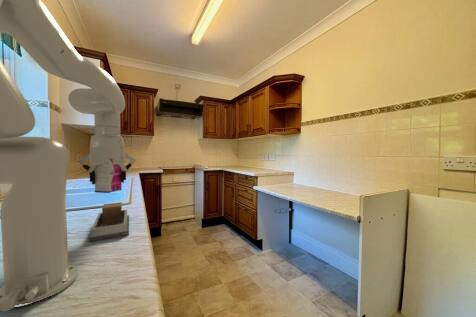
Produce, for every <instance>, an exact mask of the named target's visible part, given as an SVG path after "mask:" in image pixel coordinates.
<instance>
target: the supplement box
mask: <svg viewBox="0 0 476 317" xmlns="http://www.w3.org/2000/svg"><path fill="white" fill-rule="evenodd" d="M121 171H122V168H121V167H120V166H119V165H113V159H105V161H104V165H99V166H96V168H95V184H94V193H99V194H110V193H115V192H118V191H122V185H123V183H122V182H121Z"/></svg>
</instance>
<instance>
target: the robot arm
mask: <svg viewBox="0 0 476 317" xmlns="http://www.w3.org/2000/svg"><path fill="white" fill-rule="evenodd" d="M0 34H7V35H10V36H11V37H12V38H13V40H14V41H16V43H18V45H19V46H21V48H22V49H23V50H24V51H25V52H26V53H27V54H28V55H29V56H30V57H31V58H32V59H33V60H34V61H35V63H37V65H38V66H40V68H41V69H42V70H43V71H45V72H47V73H48V74H50V75H53V76H55V77H58V78H60V79H64V80H65V81H69V82H72V83H76V84H80V85H82V86H86V87H88V88H85V87H83V88H76V89H73V90H71V91H70V93H69V95H68V103H69V105H70V107H71V108H72V109H74V110H75V111H76V112H79V113H81V114H84V115H85V114H86V115H93V116H94V117H93V119H94V123H93V124H94V125H93V127H92V128H89V129H88V131H89V133H93V134H94V135H91V138H90V142H89V143H90V144H89V153H88V154H86V155H84V156H83V157H81V158H79V159H78V160H77V162H78V163H79V164H80V165H81V167H82V168H83V169H85V170H86V172H88V173H89V182H90V183H91V185H95V168H96V166H99V165H104V161H105V159H113V165H119V166H120V167H121V168H122V171H121V182H122V184H123V183H125V181H126V180H127V171H128V170H129V169H130V168H131V167H132V166H133V164H134V163H135V162H136V159H135V158H134V157H132V156H130V155H129V154H127V153H126V149H125V147H126V146H125V141H124V137H123V136H121V113H123V112H124V110H125V108H126V100H125V96H124V94H123V92H122V90H121V89H120V86H119V85H118V84H117V82H116V80H115V79H114V77H112V76H111V75H110V74H109V73H108V72H107V71H106V70H104V69H103V68H101V67H100V66H99V65H97V64H96V63H94V62H92V61H91V60H90V59H88V58H85V56H82V55H81V54H80V53H79V52H78V51H77V50H76V49H75V47H74V45H73V43H71V41H70V39H69V38H68V37H67V35H66V34H65V33H64V31H63V29H62V27H61V26H60V25H59V24H58V22H57V21H56V20H55V18H54V17H53V15H52V13H51V12H50V11H49V9H48V8H47V6H46V5H45V3H44V2H43V1H42V0H0ZM35 125H36V118H35V114H34V112H33V110H32V108H31V107H30V105H29V102H28V100H26V98H25V97H24V95H23V93H22V92H21V90H20V88H19V87H18V85H17V83H16V82H15V80H14V79H13V77H12V76H11V74H10V73H9V71H8V70H7V68H6V66H5V65H4V63H3V61H2V59H1V58H0V185H2V184H5V185H7V184H9V185H11V188H10V189H9V191H8V192H7V194H6V195H5V197H4V198H3V200H2V202H1V205H0V228H1V245H2V246H1V248H2V263H3V279H4V280H3V281H4V284H3V285H2V286H1V287H0V311H1V312H7V311H10V310H12V309H14V308H13V307H14V306H15V305H19V304H25V303H31V302H35V301H38V300H42V299H44V298H46V299H48V298H47V297H49V296H51V297H53V296H55V295H57V294H58V293H61V291H64V290H65V289H66V288H68V287H69V286H70V285H71V284H72V283H74V281H75V280H76V279H77V276H78V268H77V267H76V266H75V265H73V264H69V253H68V252H69V251H68V246H69V245H68V228H67V227H68V226H67V225H68V224H67V203H66V188H67V178H68V174H69V169H70V165H71V157H70V156H71V155H70V151H69V149H68V148H67V147H66V146H65V145H64V144H63V143H62V142H60V141H58V140H56V139H52V138H49V137H42V136H25V135H27V134H29V133H30V132H31V131H33V130H34V128H35ZM126 159H127V160H129V163H127V165H125V163H126ZM88 160H89V164H90V165H91V166H90V165H89V164H87V163H86V161H88ZM56 293H57V294H56ZM54 294H55V295H54ZM52 295H53V296H52ZM49 298H50V297H49ZM44 300H45V299H44ZM42 301H43V300H42Z"/></svg>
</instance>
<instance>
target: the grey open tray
mask: <svg viewBox="0 0 476 317" xmlns="http://www.w3.org/2000/svg"><path fill="white" fill-rule="evenodd" d="M101 209H102V210H101V211H102V212H99V213H98V214H97V216H96V219H95V220H94V223H93V225H92V227H91V229H90V234H89V237H88V243H92V242H97V241H103V240H104V241H105V240H108V239H114V238H115V239H116V238H121V237H124V236H125V237H126V236H129V235H130V215H129V214H128V209H123V202H122V201H121V202H111V203H104V204H103V206H102V208H101Z"/></svg>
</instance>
